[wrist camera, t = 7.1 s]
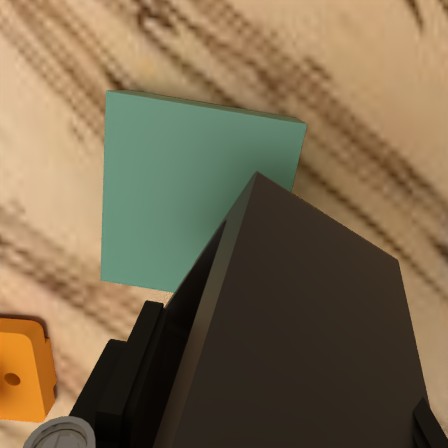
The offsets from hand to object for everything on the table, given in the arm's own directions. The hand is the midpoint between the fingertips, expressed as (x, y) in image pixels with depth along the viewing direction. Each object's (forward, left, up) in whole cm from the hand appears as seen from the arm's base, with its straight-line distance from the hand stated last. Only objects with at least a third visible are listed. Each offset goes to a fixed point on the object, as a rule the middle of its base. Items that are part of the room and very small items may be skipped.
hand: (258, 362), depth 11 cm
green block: (+4, 0, -18) cm, 18 cm away
